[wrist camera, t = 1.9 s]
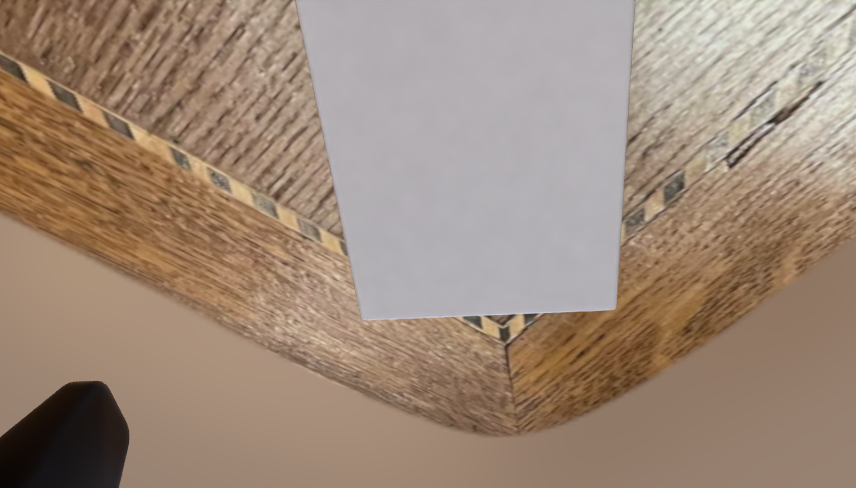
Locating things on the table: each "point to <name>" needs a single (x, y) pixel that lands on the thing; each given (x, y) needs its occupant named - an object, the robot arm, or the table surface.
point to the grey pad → (475, 150)
